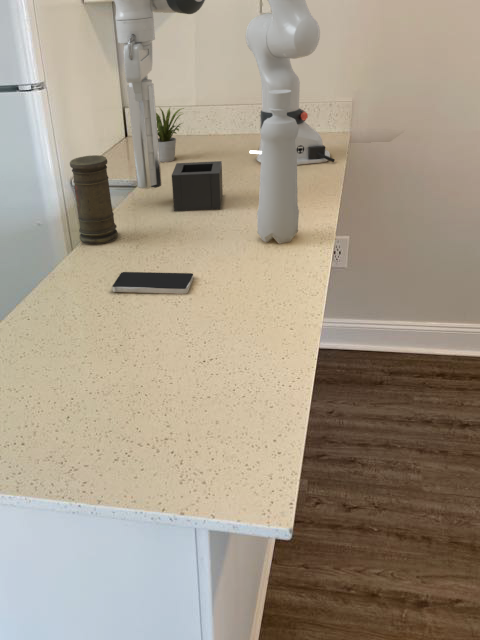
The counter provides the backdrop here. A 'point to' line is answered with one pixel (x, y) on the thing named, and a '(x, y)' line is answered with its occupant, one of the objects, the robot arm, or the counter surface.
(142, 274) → the smartphone
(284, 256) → the counter surface
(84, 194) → the container
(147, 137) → the silver tall cylinder
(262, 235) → the bottle
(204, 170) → the box
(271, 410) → the counter surface
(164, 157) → the house plant
